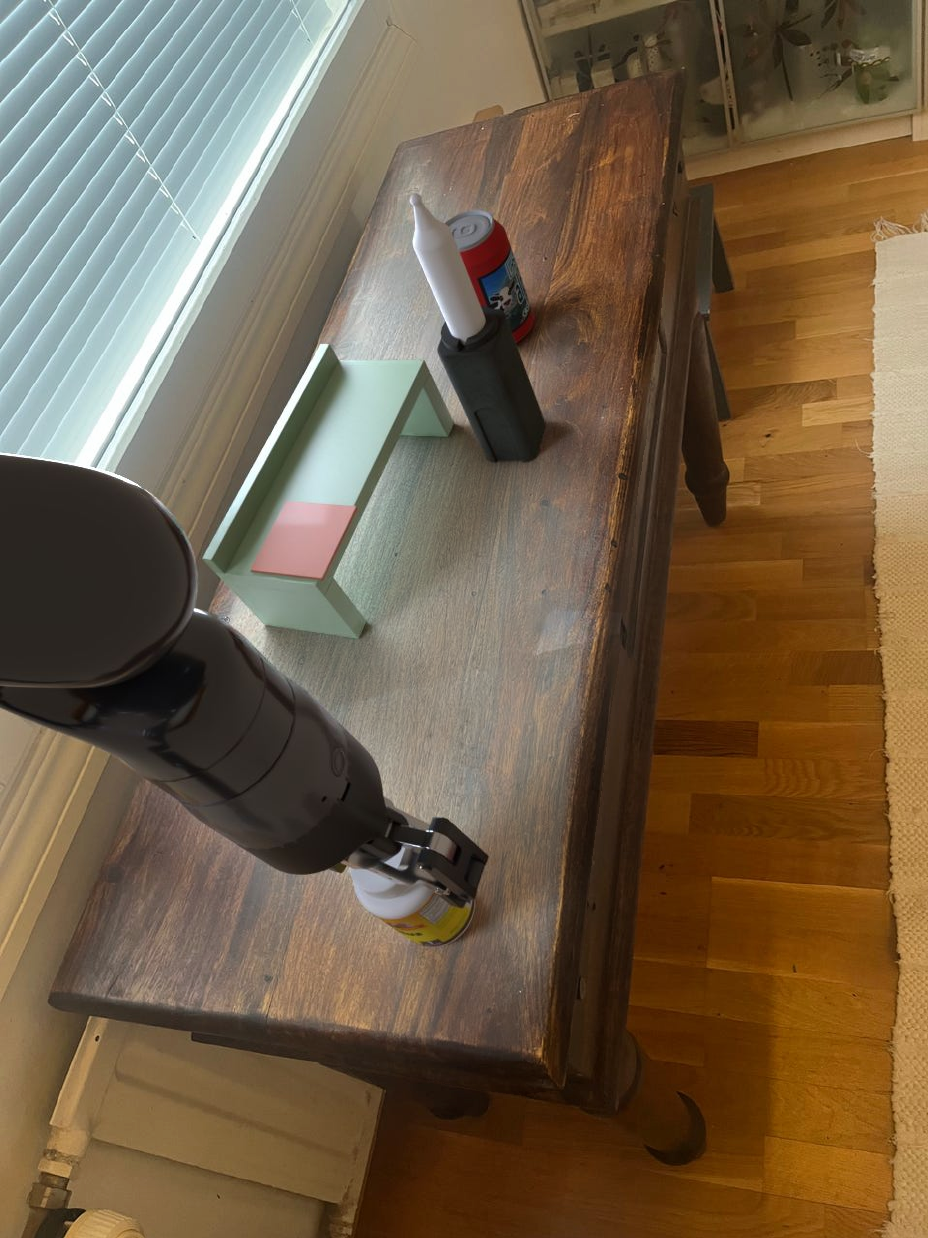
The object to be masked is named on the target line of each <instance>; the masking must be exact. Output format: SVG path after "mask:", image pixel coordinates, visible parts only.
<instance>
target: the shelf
mask: <svg viewBox="0 0 928 1238" xmlns="http://www.w3.org/2000/svg"><path fill="white" fill-rule="evenodd" d="M439 390H440V389H439V388H438V386H437V383H436V382H435V379H434V378H433V376H432V373H431V371H430V368H429V366H428V365H427V362H426V360H425V359H353V360H352V359H351V360H350V359H349V360H348V359H345V360H342V359H341V360H340V359H339V357H338V356H337V354H336V353H335V351H334V348H333V346H331V344H330V343H320V344H319V347H318V349H317V350H316V352H315V354H314V355H313V357H312V359H311V361H310V363H309V365H308V366H307V368H306V369H305V372H304V374H303V375H302V377H301V379H300V380H299V383H298V384H297V386H296V388H295V389H294V392H293V393H292V395H291V397H290V399H289V400H288V402H287V404H286V406H285V408H284V409H283V412H282V414H281V415H280V417H279V419H278V420H277V422H276V424H275V425H274V428H273V430H272V432H271V433H270V435H269V436H268V439H267V440H266V442H265V444H264V446H263V448H262V449H261V451H260V453H259V455H258V457H257V458H256V460H255V462H254V464H253V465H252V468H251V469H250V471H249V473H248V475H247V476H246V478H245V480H244V482H243V484H242V486H241V487H240V489H239V491H238V492H237V495H236V496H235V498H234V499H233V502H232V504H231V505H230V507H229V509H228V511H227V512H226V515H225V516H224V518H223V520H222V522H221V524H220V525H219V527H218V529H217V530H216V533H215V535H214V536H213V538H212V540H211V541H210V544H209V546H208V547H207V549H206V551H205V552H204V554H203V555H202V557H201V559H202V560H203V561H204V563H205V564H206V565H207V566H208V567H209V568H210V569H211V570H212V571H213V572H214V573H215V575H217V576H218V577H219V579H220V580H221V581H222V582H223V583H224V584H225V585H226V586H227V587H228V589H229V590H231V592H233V594H234V595H236V597H237V598H238V599H239V600H240V601H241V602H242V603H243V604H244V605H245V606H246V607H247V609H249V610H250V612H251V613H252V614H253V615H254V616H255V617H256V618H257V619H258V620H259V621H260V622H261V623H262V624H263V625H264V626H272V627H279V628H283V629H291V630H298V631H304V632H311V633H317V634H324V635H332V636H337V637H343V638H351V639H360V637H361V634H362V632H363V631H364V628H365V625H366V623H367V619H366V618H365V617H364V615H363V614H362V612H361V611H360V610H359V609H358V608H357V606H356V605H355V604H354V602H353V601H352V600H351V598H350V597H349V596H348V595H347V593H346V592H345V591H344V589H343V588H342V586H340V584H339V583H338V582H337V580H336V579H335V578H334V576H335V574H336V572H337V569H338V567H339V565H340V564H341V561H342V559H343V557H344V555H345V553H346V551H347V549H348V547H349V545H350V542H351V541H352V538H353V536H354V534H355V532H356V530H357V527H358V525H359V523H360V521H361V519H362V517H363V515H364V513H365V511H366V509H367V506H368V505H369V502H370V500H371V498H372V496H373V494H374V492H375V489H376V487H377V485H378V483H379V481H380V479H381V477H382V474H383V473H384V470H385V469H386V466H387V464H388V462H389V460H390V458H391V455H392V453H393V451H394V449H395V447H396V446H397V443H398V441H399V439H400V437H401V436H410V437H411V436H412V437H439V438H441V437H443V438H444V437H445V438H448V437H449V436H450V434H451V431H452V429H453V427H454V425H455V421H454V419H453V417H452V415H451V413H450V411H449V409H448V407H447V404H446V402H445V400H444V398H443V395H442V394H441V392H440V391H439Z"/></svg>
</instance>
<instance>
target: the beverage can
mask: <svg viewBox="0 0 928 1238" xmlns="http://www.w3.org/2000/svg"><path fill="white" fill-rule="evenodd" d="M443 223H444V224H446V225H447V226H448V227H449V228H450V230H451V232H452V235H453V237H454V240H455V242H456V245H457V247H458V250H459V253H460V255H461V258H462V260H463V263H464V265H465V268H466V270H467V273H468V275H469V278H470V281H471V283H472V286H473V288H474V291H475V293H476V296H477V298H478V301H479V303H480V305H483V306H487V307H489V308H491V309H500V310H502V311H503V312H504V313H505V315H506V318H507V321H508V323H509V326H510V329H511V331H512V334H513V337H514V339H515V342H516V344H517V343H519V341H521V340H522V339H524V337H526V335H528V333H529V332H530V331H531V330H532V327H533V325H534V321H535V318H534V317H535V315H534V312H533V309H532V306H531V305H532V304H531V303H530V299H529V296H528V293H527V290H526V287H525V283H524V281H523V277H522V275H521V271H520V269H519V265H518V263H517V260H516V257H515V254H514V252H513V248H512V246H511V242H510V240H509V237H508V234H507V231H506V229H505V227H504V226H503V225H502V223H500V222H499V221H498V220H496V219H495V218H494V217H493V215H492V214H491V213H490V212H489V211H487V210H484V209H469V210H466V211H462V212H460V213H457V214H455V215H454V216H452V217H450V218H449V219H448V220H446V221H445V222H443Z"/></svg>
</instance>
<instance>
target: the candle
mask: <svg viewBox="0 0 928 1238" xmlns="http://www.w3.org/2000/svg"><path fill="white" fill-rule="evenodd" d="M409 203H410V204H411V205H412V206H413V215H414V226H415V229H414V234H413V238H412V247H413V250H414V252H415V254H416V256H417V259H418V261H419V263H420V266H421V268H422V270H423V272H424V275H425V278H426V279H427V282H428V284H429V286H430V288H431V291H432V293H433V296H434V298H435V300H436V302H437V304H438V307H439V309H440V311H441V314H442V316H443V318H444V320H445V321H444V322H443V324H442V326H441V329H440V340H439V342H438V345H437V349H436V351H437V352H436V353H437V355H438V357H439V360H440V362H441V363H442V365H443V369H444V371H445V372H446V374H447V376H448V379H449V381H450V383H451V385H452V388H453V389H454V392H455V394H456V396H457V398H458V400H459V402H460V405H461V407H462V409H463V411H464V413H465V416H466V418H467V420H468V422H469V425H470V427H471V428H472V430H473V432H474V435H475V437H476V439H477V441H478V444H479V446H480V448H481V449H482V452H483V455H484V456H485V459H486V460H487V461H488V462H489V463H492V464H497V463H498V462H522V463H528V462H531V461H533V460H534V459H535V458H537V456H538V455H539V453H540V450H541V448H542V444H543V440H544V438H545V437H544V436H545V433H546V429H547V424H546V420H545V418H544V415H543V412H542V410H541V408H540V404H539V402H538V399H537V397H536V394H535V391H534V388H533V386H532V385H533V384H532V383H531V380H530V378H529V375H528V372H527V369H526V367H525V364H524V361H523V358H522V356H521V353H520V350H519V348H518V345H517V343H516V342H515V339H514V337H513V334H512V331H511V329H510V326H509V323H508V321H507V318H506V315H505V313H504V312H503V311H502V310H500V309H491V308H489V307H487V306H483V305H480V303H479V301H478V298H477V296H476V293H475V291H474V288H473V286H472V283H471V281H470V278H469V275H468V273H467V270H466V268H465V265H464V263H463V260H462V258H461V255H460V253H459V250H458V247H457V245H456V242H455V240H454V237H453V235H452V232H451V230H450V228H449V227H448V226H447V225H446V224H444V223H445V222H443V221H441V220H439V219H437V218H436V217H435V215H433V214H432V212H431V211H430V210H429V209H428V208H427V206H426V205H425V204H424V203H423V197H422V196H421V194H419V193H415V192H414V193H412V194H411V195H410V197H409Z"/></svg>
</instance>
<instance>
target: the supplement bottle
mask: <svg viewBox="0 0 928 1238" xmlns="http://www.w3.org/2000/svg"><path fill="white" fill-rule="evenodd" d="M404 851H405V848H404V847H402V849H401V851H400V852H399V853H398V854H397V855H395V856H394V857H392V858H391V859H389V860H388V861H386V862H384V863H386V864H388V865H390V866H392V867H394V868H398V866H399V864H400V862H401V859H402V856H403V853H404ZM348 869H349V874H350V877H351V879H352V885H353V889H354V892H355V895H356V897H357V900H358V901H359V903H360V904H361V905H362V906H363V908H364V909H365V910H366V911H368V912H369V913H370V914H371V915H372V916H374V917H376V918H377V919H379V920H380V921H381V922H383V923H384V924H386V925H388V927H390V928H392V929H393V930H395V931H396V932H397V933H399V934H401V935H402V936H404V937H405V938H406V939H408V940H410V941H411V942H412V943H415V944H416V945H419V946H422V947H426V948H441V947H444V946H448V945H449V944H452V943H453V942H455V941H457V940H458V939H459V938H460V937H461V936H462V935H463V934H464V933H465V932H466V930H467V929H468V927H469V926H470V925H471V922H472V920H473V917H474V914H475V910H476V899H475V900H471V902H470V903H468V902H466V904H465V906H464V907H463V908H458V907H455V906H451V905H450V904H448V903H447V902H446V901H445V900H444V899H442V898H441V897H440V896H439V895H437V894H436V893H434V891H433V890H431V889H429V888H427V887H425V886H423V885H421V884H418V883H415V884H413V885H399V884H396V883H394V882H392V881H390V880H388V879H386V878H383V877H381V876H379V875H377V874H375V873H373V872H371V871H368V870H366V869H353V868H351V867H348ZM423 872H425V873H427V874H429V873H428V872H426V871H423ZM429 875H430V874H429ZM431 876H432V875H431Z"/></svg>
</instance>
